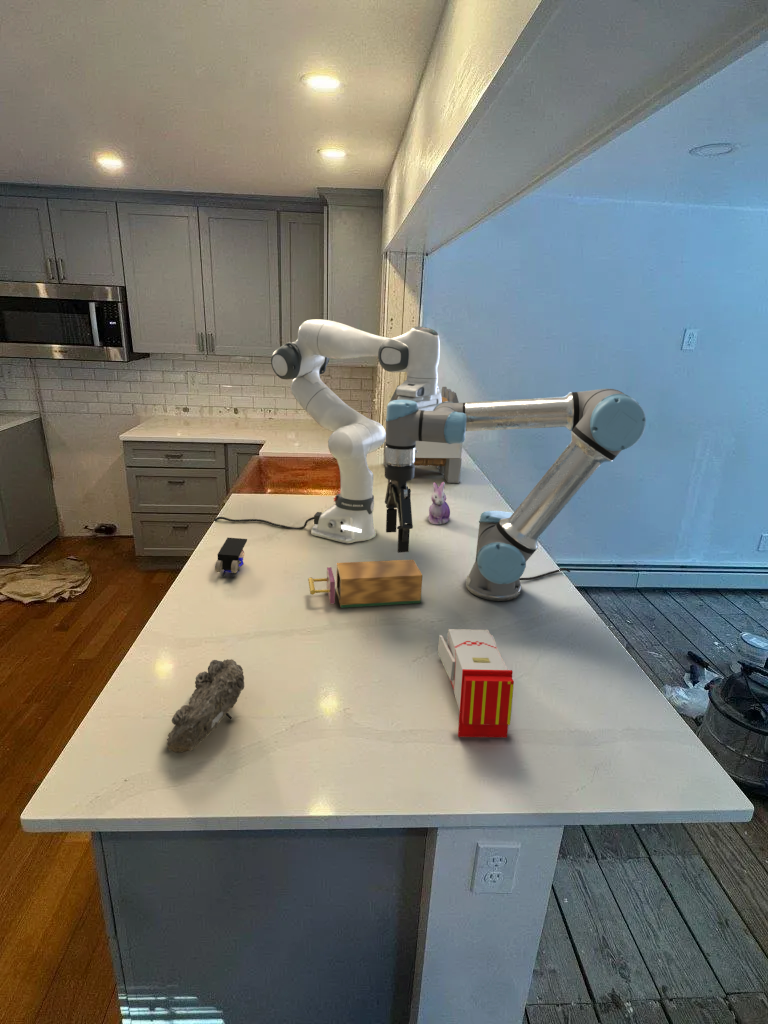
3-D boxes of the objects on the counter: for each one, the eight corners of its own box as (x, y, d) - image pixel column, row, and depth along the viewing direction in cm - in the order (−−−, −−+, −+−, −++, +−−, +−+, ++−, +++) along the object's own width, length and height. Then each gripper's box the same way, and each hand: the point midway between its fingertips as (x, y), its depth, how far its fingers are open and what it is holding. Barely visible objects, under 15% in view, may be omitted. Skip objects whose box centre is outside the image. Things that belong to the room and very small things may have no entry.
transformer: (382, 463, 289) (386, 382, 275) (445, 464, 293) (451, 384, 279) (390, 482, 257) (394, 392, 243) (460, 483, 261) (468, 394, 247)
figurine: (435, 526, 207) (438, 487, 202) (421, 517, 216) (423, 479, 211) (456, 523, 212) (460, 485, 207) (441, 514, 220) (444, 477, 215)
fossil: (192, 660, 117) (244, 628, 112) (224, 691, 120) (276, 661, 115) (142, 746, 98) (202, 712, 93) (182, 779, 101) (242, 748, 96)
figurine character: (238, 584, 162) (249, 557, 175) (236, 562, 158) (247, 536, 172) (215, 584, 161) (227, 556, 175) (212, 561, 158) (225, 535, 171)
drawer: (310, 605, 148) (310, 582, 146) (308, 589, 156) (308, 568, 154) (406, 599, 153) (407, 578, 151) (399, 584, 161) (400, 564, 159)
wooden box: (340, 607, 149) (341, 579, 146) (336, 590, 159) (336, 562, 156) (420, 602, 154) (422, 575, 151) (411, 585, 163) (413, 559, 160)
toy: (488, 613, 130) (523, 677, 101) (484, 667, 133) (517, 744, 104) (435, 612, 130) (455, 676, 101) (432, 666, 133) (451, 743, 103)
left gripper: (430, 383, 171) (426, 428, 175) (392, 389, 155) (390, 438, 159) (448, 385, 167) (444, 431, 172) (412, 391, 151) (409, 442, 156)
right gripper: (428, 476, 131) (423, 560, 138) (402, 450, 154) (399, 523, 161) (396, 477, 130) (393, 562, 137) (375, 451, 152) (373, 525, 160)
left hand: (418, 435), depth 166 cm, fingers open, 8 cm apart
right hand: (396, 541), depth 149 cm, fingers open, 13 cm apart
